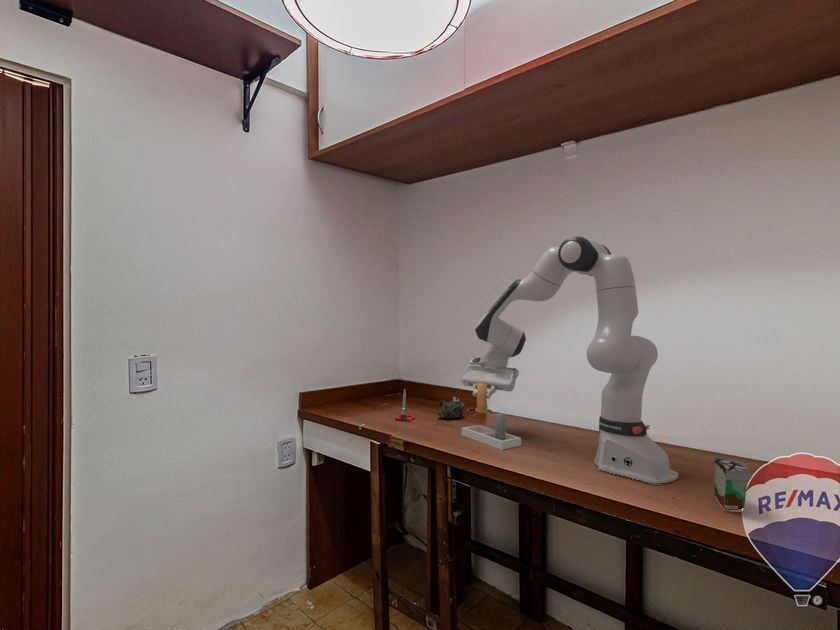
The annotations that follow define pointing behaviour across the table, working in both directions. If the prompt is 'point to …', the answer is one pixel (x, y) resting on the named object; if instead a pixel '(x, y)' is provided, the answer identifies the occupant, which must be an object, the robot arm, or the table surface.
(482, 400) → the domed orange pawn
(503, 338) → the robot arm
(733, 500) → the food container
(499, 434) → the grey rounded peg
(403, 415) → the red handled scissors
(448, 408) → the mineral specimen
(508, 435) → the white divided tray
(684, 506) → the table surface
